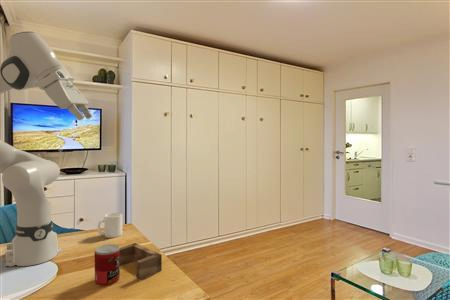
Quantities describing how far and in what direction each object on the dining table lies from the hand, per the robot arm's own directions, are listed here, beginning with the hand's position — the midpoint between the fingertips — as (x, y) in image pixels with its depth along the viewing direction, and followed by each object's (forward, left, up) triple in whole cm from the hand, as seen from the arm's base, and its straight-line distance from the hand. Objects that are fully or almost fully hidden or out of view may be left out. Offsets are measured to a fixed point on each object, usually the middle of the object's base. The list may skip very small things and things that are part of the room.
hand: (86, 118), depth 89 cm
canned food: (+3, +5, -55) cm, 55 cm away
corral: (+3, +17, -54) cm, 57 cm away
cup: (-37, +27, -55) cm, 71 cm away
